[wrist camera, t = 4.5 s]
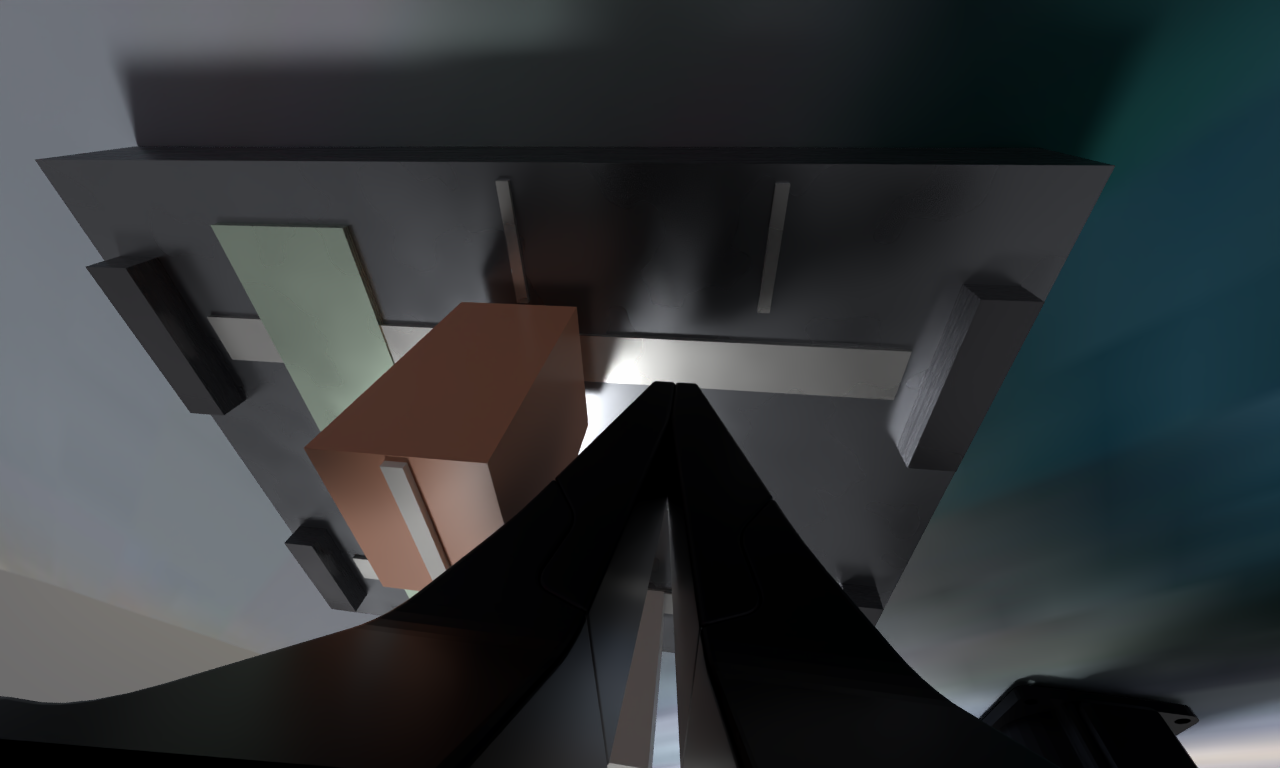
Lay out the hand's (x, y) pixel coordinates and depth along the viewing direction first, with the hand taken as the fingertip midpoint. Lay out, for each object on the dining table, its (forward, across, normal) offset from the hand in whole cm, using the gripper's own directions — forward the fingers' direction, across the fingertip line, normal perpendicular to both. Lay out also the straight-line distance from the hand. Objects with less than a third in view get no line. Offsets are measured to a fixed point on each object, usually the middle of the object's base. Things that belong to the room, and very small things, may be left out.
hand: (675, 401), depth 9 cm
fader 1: (+1, +3, 0) cm, 3 cm away
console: (+4, +3, +5) cm, 7 cm away
